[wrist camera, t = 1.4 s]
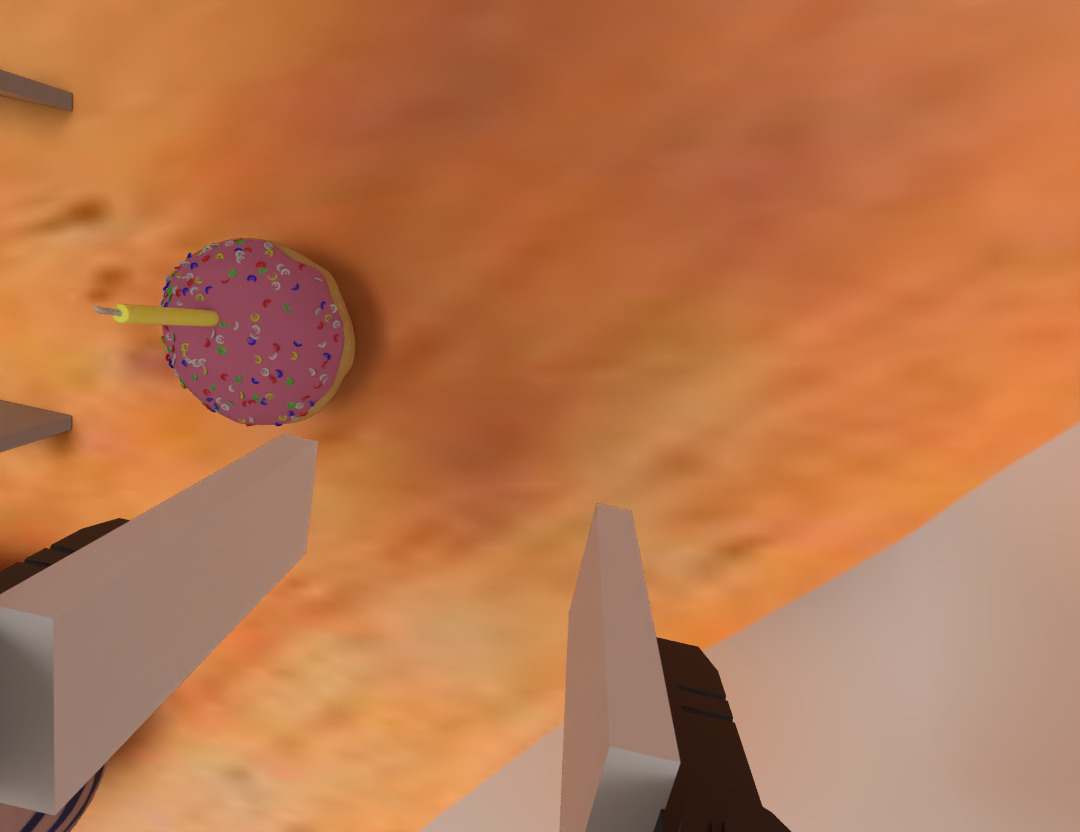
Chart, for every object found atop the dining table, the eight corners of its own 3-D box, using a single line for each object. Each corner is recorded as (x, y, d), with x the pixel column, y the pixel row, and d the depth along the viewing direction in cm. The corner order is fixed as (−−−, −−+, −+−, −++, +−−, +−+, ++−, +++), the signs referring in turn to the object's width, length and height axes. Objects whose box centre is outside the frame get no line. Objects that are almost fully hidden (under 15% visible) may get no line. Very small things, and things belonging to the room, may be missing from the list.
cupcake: (193, 308, 32) (-34, 334, 20) (307, 204, 30) (130, 166, 18) (302, 433, 33) (148, 526, 21) (416, 340, 31) (317, 386, 20)
